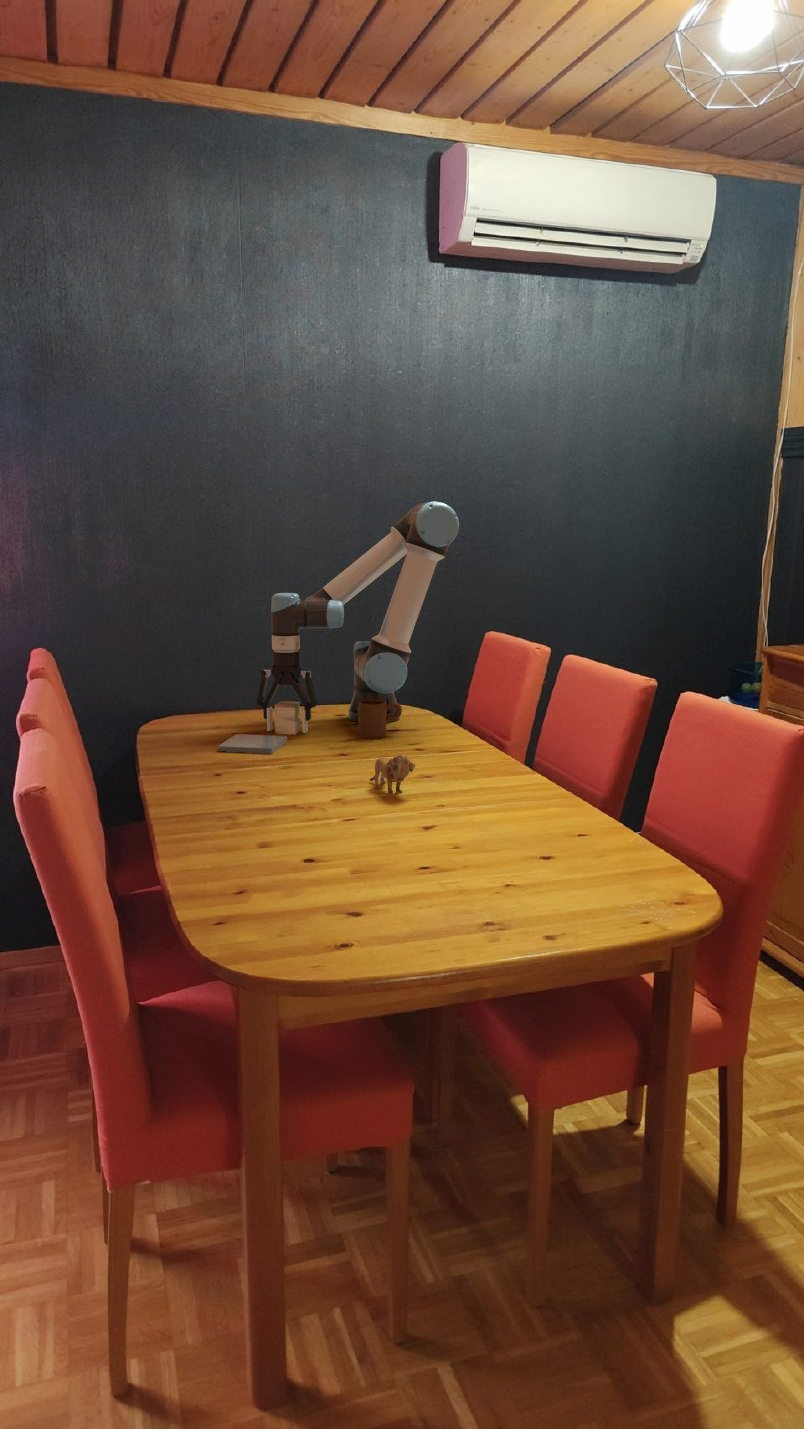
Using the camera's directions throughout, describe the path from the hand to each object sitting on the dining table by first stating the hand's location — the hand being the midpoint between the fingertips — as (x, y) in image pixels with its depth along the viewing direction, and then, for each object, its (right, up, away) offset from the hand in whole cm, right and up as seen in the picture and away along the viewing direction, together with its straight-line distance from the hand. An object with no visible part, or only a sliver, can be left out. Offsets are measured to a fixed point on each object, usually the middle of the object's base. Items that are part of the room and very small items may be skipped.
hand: (287, 731), depth 266 cm
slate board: (-7, -4, -17) cm, 18 cm away
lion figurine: (+29, -12, -56) cm, 64 cm away
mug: (+26, -1, -4) cm, 26 cm away
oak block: (0, 0, 0) cm, 0 cm away
